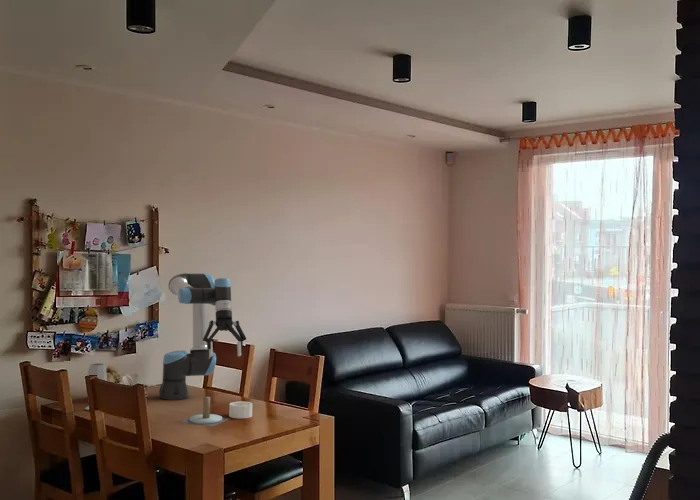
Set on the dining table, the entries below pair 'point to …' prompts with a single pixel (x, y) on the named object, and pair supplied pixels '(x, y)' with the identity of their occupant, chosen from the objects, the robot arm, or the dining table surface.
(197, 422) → the lid
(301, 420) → the dining table surface
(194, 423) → the mat
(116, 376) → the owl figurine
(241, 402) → the bowl
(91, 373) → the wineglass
